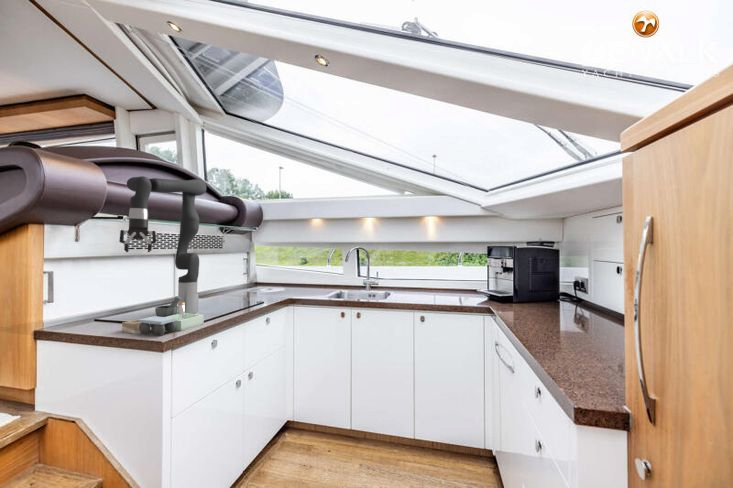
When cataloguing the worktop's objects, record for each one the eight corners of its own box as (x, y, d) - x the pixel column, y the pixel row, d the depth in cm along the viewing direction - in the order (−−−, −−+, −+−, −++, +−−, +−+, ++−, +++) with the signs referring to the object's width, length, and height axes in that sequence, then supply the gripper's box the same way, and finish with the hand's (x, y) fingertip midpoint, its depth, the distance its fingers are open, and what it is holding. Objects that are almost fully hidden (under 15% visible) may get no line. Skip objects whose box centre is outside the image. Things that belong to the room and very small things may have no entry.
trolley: (138, 333, 137) (138, 319, 138) (153, 329, 144) (153, 316, 144) (161, 336, 134) (162, 321, 134) (176, 332, 141) (176, 318, 141)
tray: (181, 322, 159) (181, 313, 159) (203, 324, 155) (203, 314, 155) (157, 328, 146) (158, 318, 146) (181, 331, 142) (181, 320, 142)
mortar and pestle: (151, 323, 155) (152, 298, 156) (158, 319, 164) (158, 295, 165) (178, 322, 159) (178, 297, 159) (183, 318, 168) (183, 294, 168)
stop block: (137, 327, 147) (137, 319, 147) (149, 329, 145) (149, 320, 145) (122, 331, 140) (122, 322, 140) (134, 333, 138) (134, 323, 138)
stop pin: (181, 323, 152) (181, 302, 152) (185, 323, 151) (186, 302, 151) (177, 324, 150) (177, 302, 150) (181, 325, 149) (181, 303, 149)
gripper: (156, 219, 162) (156, 252, 162) (121, 218, 156) (121, 251, 155) (155, 218, 156) (155, 252, 156) (118, 217, 149) (118, 252, 149)
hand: (138, 252), depth 156 cm, fingers open, 8 cm apart
